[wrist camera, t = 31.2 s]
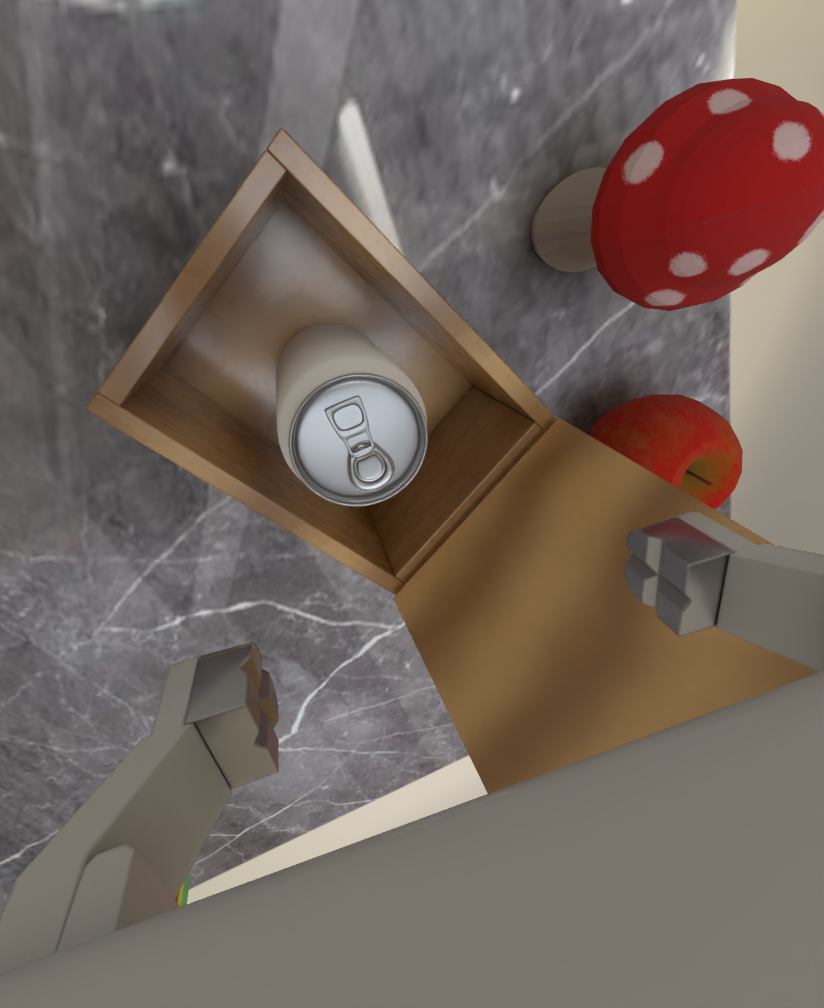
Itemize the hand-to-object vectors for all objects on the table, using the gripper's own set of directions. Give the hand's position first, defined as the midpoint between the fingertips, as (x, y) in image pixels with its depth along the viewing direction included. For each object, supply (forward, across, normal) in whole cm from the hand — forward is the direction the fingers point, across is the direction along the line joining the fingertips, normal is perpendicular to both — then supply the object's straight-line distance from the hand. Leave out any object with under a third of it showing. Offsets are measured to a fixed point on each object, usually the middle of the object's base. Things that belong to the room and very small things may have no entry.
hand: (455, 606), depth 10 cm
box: (+24, 0, 0) cm, 24 cm away
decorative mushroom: (+24, -17, -6) cm, 30 cm away
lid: (+4, -6, +7) cm, 10 cm away
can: (+23, 0, 0) cm, 23 cm away
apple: (+24, -19, +8) cm, 32 cm away
